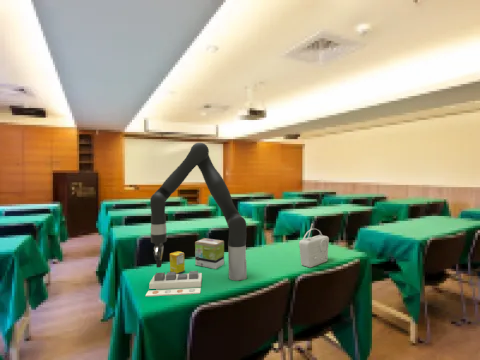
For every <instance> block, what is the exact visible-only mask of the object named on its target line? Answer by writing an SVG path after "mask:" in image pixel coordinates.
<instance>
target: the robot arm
mask: <svg viewBox="0 0 480 360" xmlns="http://www.w3.org/2000/svg"><path fill="white" fill-rule="evenodd" d="M209 150H210V149H209V147H208V145H206V144H205V143H203V142H195V143H194V144H193V145H192V146H191V148H190V151H189V152H188V154H187V155H186V157H184V160H182V162H181V163H180V164H179V166H177V167H176V168H175V169H174V170H173V171H172V173H171V174H170V175H169V176H168V177H167V178H166V179H165V180H164V181H163V182H162V184H161V185H160V187H159V188H158V189H157V190H156V191H155V192H154V193H153V194H152V195H151V197H150V199H149V200H150V201H149V202H150V203H149V204H150V212H151V214H150V243H152V244H154V247H153V250H154V251H153V257H154V260H155V262H156V265H155V266H156V268H157V269H158V268H162V259H163V255H164V249H165V248H164V246H165V245H164V243H166V242H167V240H168V239H167V219H166V218H167V217H166V216H167V215H166V202H167V201H168V199H169V198H170V197H171V195H172V194H173V193H175V192H176V191H177V189H178V188H179V187H180V186H181V185H182V183H184V181H185V180H186V179H187V177H188V176H189V175H190V173H191V172H192V170H193V169H195V168H196V167H198V169H199V170H200V173H201V175H202V178H203V180H204V182H205V185H206V187H207V189H208V191H209V193H210V194H211V197H212V198H213V199H214V201H215V203H216V204H217V206H218V208H219V209H220V210H221V213H222V215H223V216H224V219H225V222H226V225H227V227H228V241H227V246H228V256H227V257H228V278H229V280H232V281H238V282H239V281H243V280H247V279H248V277H247V276H248V275H247V272H248V270H247V265H248V264H247V255H246V254H247V252H246V251H247V249H246V243H247V221H246V219H245V218H244V217H243V216H242V215H241V214H240V213H239V211H238V210H237V207H236V206H235V204H234V202H233V199H232V196H231V193H230V190H229V188H228V185H227V184H226V182H225V180H224V178H223V176H221V174H220V172H219V171H218V170H217V168H216V167H215V165H214V164H213V162H212V160H211V157H210V155H209V153H210V151H209Z"/></svg>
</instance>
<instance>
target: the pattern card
mask: <svg viewBox="0 0 480 360" xmlns="http://www.w3.org/2000/svg"><path fill="white" fill-rule="evenodd" d="M201 290H202V288H201V287H194V288H175V289H156V290H148V291H147V292H146V294H145V297H160V296H162V297H164V296H178V295H179V296H181V295H183V296H184V295H193V294H194V295H195V294H196V295H197V294H201Z"/></svg>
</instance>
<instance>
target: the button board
mask: <svg viewBox="0 0 480 360" xmlns="http://www.w3.org/2000/svg"><path fill="white" fill-rule="evenodd" d="M186 274H187V279H185V280H178V275H179V274H176V279H175V280H166V274H165V279H164V281H155V278H154V276H155V274H154V275H153V277H152V279H151V280H150V282H149V285H148V286H149V288H148V290H149V289H156V290H171V289H190V288H201V287H202V280H203V273H202V272H198V279H189V273H186Z"/></svg>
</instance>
